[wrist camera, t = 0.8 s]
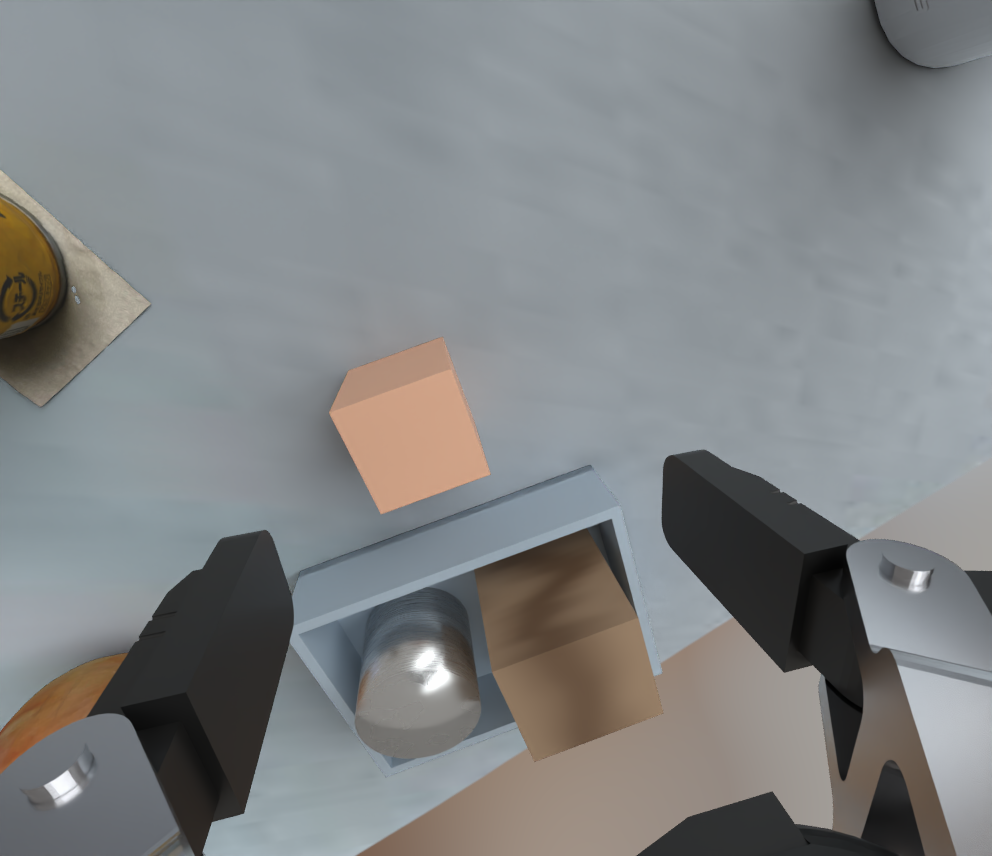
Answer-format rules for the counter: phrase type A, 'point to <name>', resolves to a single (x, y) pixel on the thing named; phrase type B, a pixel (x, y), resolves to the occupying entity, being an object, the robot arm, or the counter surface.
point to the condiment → (52, 299)
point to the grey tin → (417, 676)
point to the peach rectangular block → (409, 426)
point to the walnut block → (565, 645)
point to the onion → (56, 706)
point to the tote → (452, 587)
